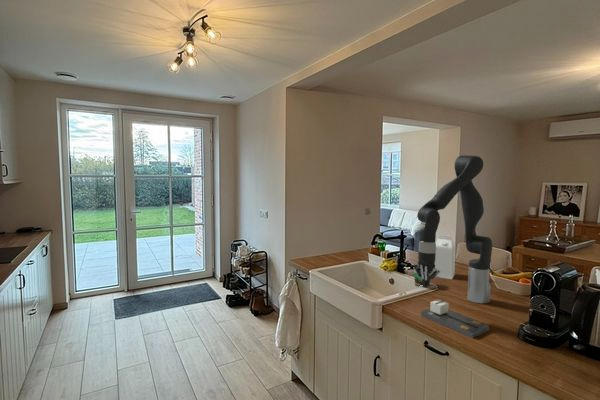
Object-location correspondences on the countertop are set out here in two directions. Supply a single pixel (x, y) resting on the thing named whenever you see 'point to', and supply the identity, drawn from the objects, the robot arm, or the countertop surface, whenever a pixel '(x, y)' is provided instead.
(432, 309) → the fader knob
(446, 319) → the fader console
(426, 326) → the countertop surface
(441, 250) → the milk
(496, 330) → the countertop surface
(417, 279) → the food container
